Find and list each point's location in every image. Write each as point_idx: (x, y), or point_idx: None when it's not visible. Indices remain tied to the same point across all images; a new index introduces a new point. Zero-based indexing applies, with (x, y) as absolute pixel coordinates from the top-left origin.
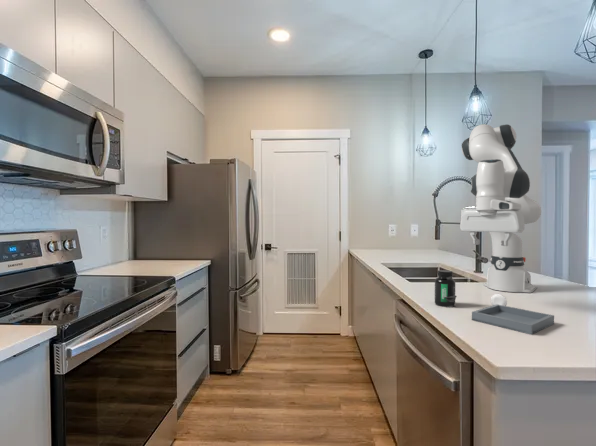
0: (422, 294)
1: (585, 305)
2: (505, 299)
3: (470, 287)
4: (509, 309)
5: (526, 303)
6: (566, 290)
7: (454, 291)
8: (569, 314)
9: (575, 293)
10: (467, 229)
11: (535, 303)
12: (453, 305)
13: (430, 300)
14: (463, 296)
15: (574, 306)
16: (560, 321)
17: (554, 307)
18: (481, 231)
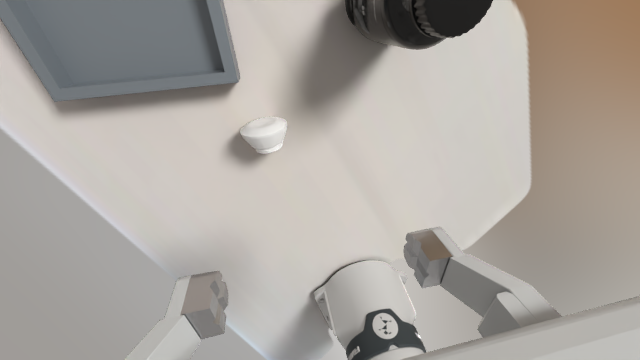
0: (489, 74)
1: None
2: (242, 134)
3: None
4: (189, 74)
5: (267, 224)
6: (295, 346)
7: (368, 8)
8: (154, 216)
9: (274, 342)
10: (628, 327)
11: (258, 239)
12: (351, 3)
13: None
14: (393, 159)
15: None
16: (97, 138)
17: (215, 241)
18: (434, 352)
